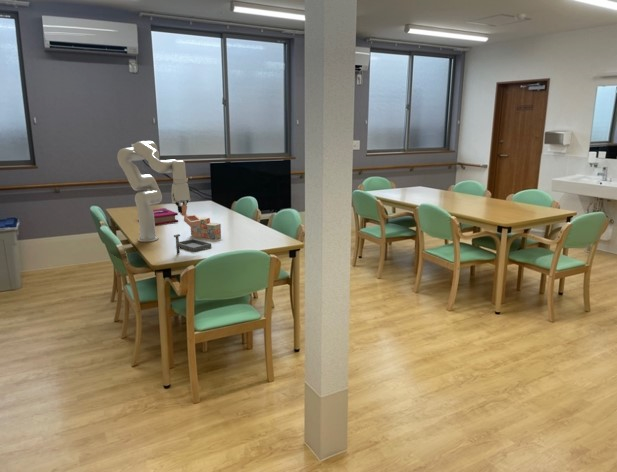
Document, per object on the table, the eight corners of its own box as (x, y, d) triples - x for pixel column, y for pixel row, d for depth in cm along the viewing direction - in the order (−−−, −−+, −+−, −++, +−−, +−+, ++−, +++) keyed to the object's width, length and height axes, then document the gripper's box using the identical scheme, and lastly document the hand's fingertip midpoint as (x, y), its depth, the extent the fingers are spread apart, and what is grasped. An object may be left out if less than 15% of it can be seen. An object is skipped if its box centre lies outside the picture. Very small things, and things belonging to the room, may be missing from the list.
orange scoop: (176, 214, 278) (178, 205, 275) (187, 212, 283) (188, 204, 280) (190, 226, 270) (191, 217, 268) (200, 224, 275) (201, 215, 272)
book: (151, 226, 342) (150, 216, 340) (139, 220, 364) (138, 210, 362) (179, 222, 355) (178, 212, 353) (165, 216, 376) (164, 207, 374)
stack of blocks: (221, 237, 306) (220, 219, 303) (215, 239, 301) (213, 220, 298) (197, 233, 317) (196, 216, 314) (190, 235, 312) (189, 217, 309)
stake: (175, 253, 269) (173, 235, 266) (180, 252, 271) (178, 234, 269) (176, 254, 268) (175, 235, 265) (181, 252, 270) (180, 234, 268)
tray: (176, 246, 284) (175, 242, 284) (193, 242, 293) (193, 238, 293) (194, 251, 272) (193, 247, 272) (211, 247, 282) (211, 243, 281)
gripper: (188, 179, 284) (190, 209, 288) (164, 182, 273) (167, 213, 277) (195, 180, 279) (197, 211, 283) (171, 183, 268) (173, 215, 272)
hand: (182, 212), depth 280 cm, fingers closed on orange scoop
